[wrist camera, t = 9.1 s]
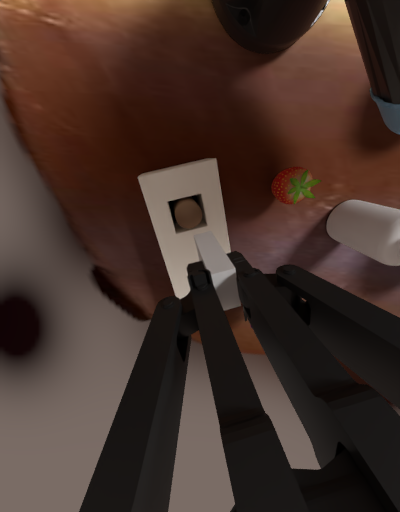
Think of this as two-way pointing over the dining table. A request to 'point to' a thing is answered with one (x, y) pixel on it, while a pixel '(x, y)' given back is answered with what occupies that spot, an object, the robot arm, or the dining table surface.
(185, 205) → the peg
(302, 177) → the fruit
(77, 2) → the dining table surface
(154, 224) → the socket block
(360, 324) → the robot arm
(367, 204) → the pill bottle
